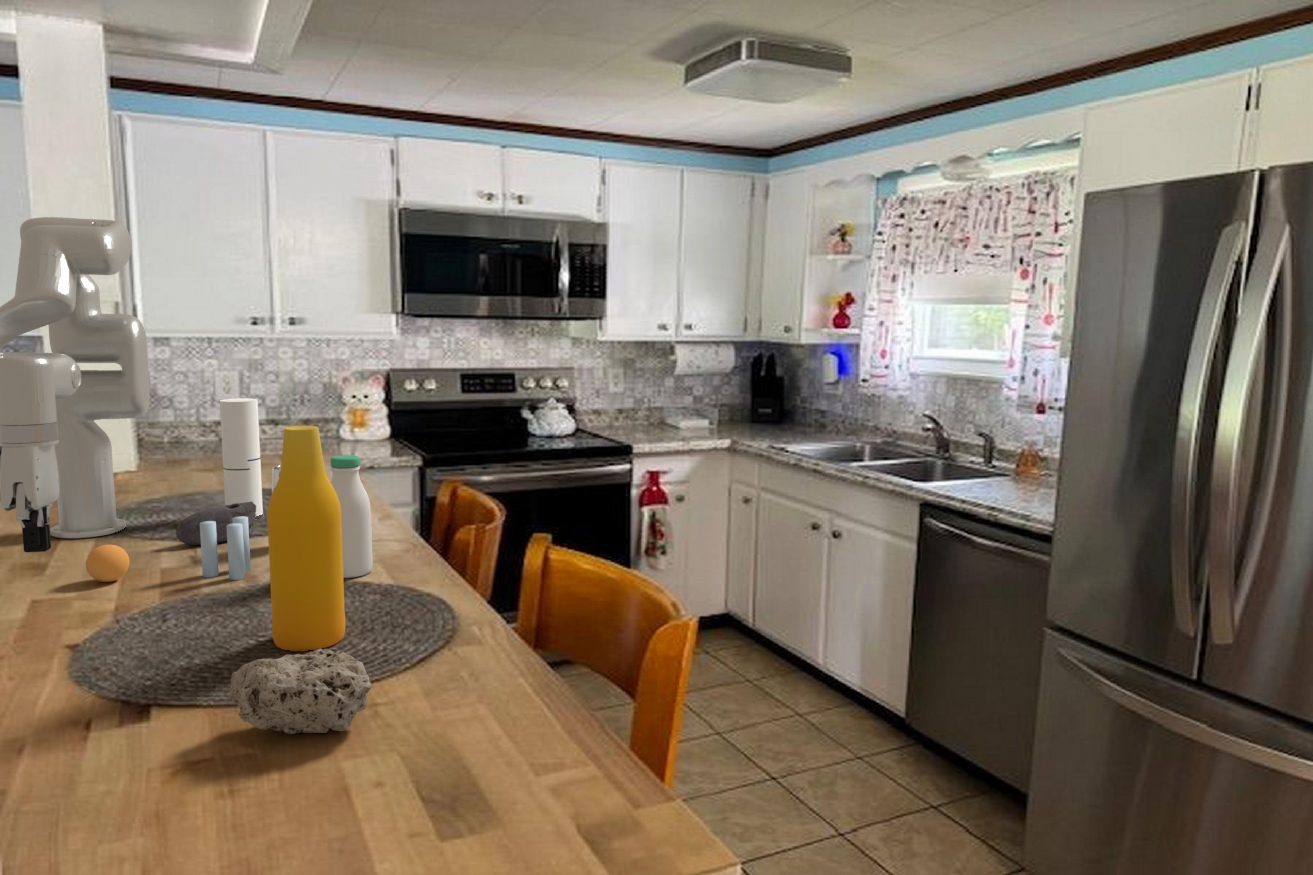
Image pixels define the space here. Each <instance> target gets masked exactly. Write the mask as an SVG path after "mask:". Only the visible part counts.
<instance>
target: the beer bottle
mask: <svg viewBox="0 0 1313 875" xmlns="http://www.w3.org/2000/svg"><path fill="white" fill-rule="evenodd" d="M280 465H281V472H280V477H279V480H278V482H277V484H276V486H275V488H274V491H273V493H272V492H271V496H270V498H269V503H268V505H267V515H266V516H267V518H266V520H267V521H266V522H267V532H268V533H267V537H268V539H267V540H268V541H267V542H268V558H269V560H268V561H269V578H270V579H269V580H270V598H271V599H270V600H271V601H270V602H271V635H272V640H273V643H274V644H275V646H276V647H277V648H278V649H280V648H281V650H283V649H284V650H283V651H287V650H290V651H289V652H309V651H308V650H313V651H315V650H319V649H322V648H323V649H327V648H329V647H332V646H333V645H336V644H338V643H339V642H341V640H343V638H344V637H345V632H346V625H347V624H346V613H345V612H346V611H345V591H344V590H345V587H344V586H345V585H344V578H343V553H342V523H341V507H340V502H339V499H338V496H337V494H336V492H335V490H334V488H333V486H332V484H331V480H330V479H329V477H328V474H327V472H326V467H325V463H324V456H323V449H322V443H321V435H320V430H319V427H318V426H315V425H293V426H287V427H284V428H283V438H282V451H281V464H280ZM323 649H322V650H323Z"/></svg>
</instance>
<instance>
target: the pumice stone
mask: <svg viewBox="0 0 1313 875" xmlns="http://www.w3.org/2000/svg"><path fill="white" fill-rule="evenodd" d="M372 684H373V683H371V681H370V677H369V675H368V673H367V670H366V668H365V665H364V664H363V662H362V661H359V660H358V659H356V658H355V657H353V656H352V655H351V654H347V653H345V652H344V651H339V650H336V651H335V652H334V651H333V650H331V649H329V648H323V649H318V650H313V651H308V652H307V653H303V654H299V653H297V654H285V655H283V656H282V657H279V658H270V657H269V658H261V659H259V658H258V659H255V660H252V661H250V662H248V663H244V664H242V665H241V666H240V668H239V669H237V671H235V672H232V673H231V678H230V689H229V696H228V697H229V699H228V700H231V702H232V703H233V704H236V705H237V706H238V707H239V711H238V712H239V713H238V717H239V718H240V719H241V720H242V721H243V722H245V723H248V724H250V725H252V726H254V728H255V729H260V730H265V731H266V730H268V729H270V730H274V731H278V732H281V731H282V732H284V733H285V734H289V735H293V734H294V735H295V734H298V733H300V734H301V733H303V734H315V733H318V734H319V733H321V734H322V733H323V734H326V733H327V732H328V731H329V730H330V729H331V730H332V731H339V732H343V731H346V730H347V729H348V728H349V727H350V726H351V724H352V721H353V720H354V718H355V716H356V715H357V713H359V712H362V711H364V710H365V709H366V707H367V704H368V702H369V701H368V693H369V692H370V691H371V689H373V685H372Z"/></svg>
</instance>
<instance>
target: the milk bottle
mask: <svg viewBox="0 0 1313 875" xmlns="http://www.w3.org/2000/svg"><path fill="white" fill-rule="evenodd" d="M360 465H361V460H360V456H358V455H354V454H342V455H333V456H332V457H330V467H331V468H330V470H331V471H332V477H331V480H330V482H331V484H332V486H333V488H334V490H335V492H336V494H337V496H338V499H339V502H340V507H341V523H342V553H343V579H351V578H358V577H363V576H365V575H368V574H370V573H371V572H372V570H373V565H374V564H373V537H372V536H373V535H372V534H373V533H372V513H371V502H370V497H369V495H368V493H367V491H366V489H365V487H364V485H363V483H362V480H361V477H360V474H359V472H360V469H361V467H360Z"/></svg>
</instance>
